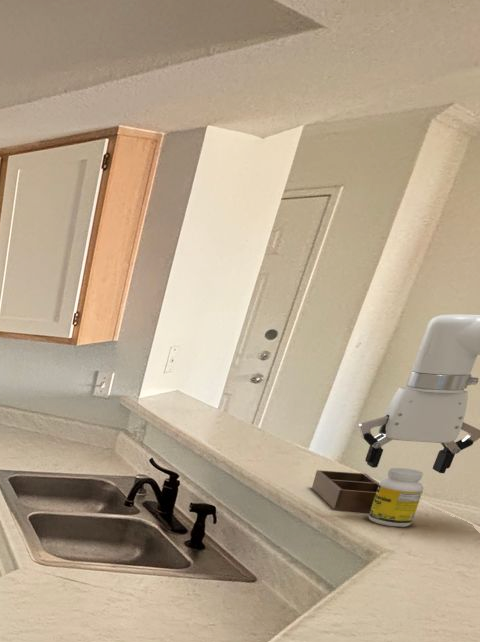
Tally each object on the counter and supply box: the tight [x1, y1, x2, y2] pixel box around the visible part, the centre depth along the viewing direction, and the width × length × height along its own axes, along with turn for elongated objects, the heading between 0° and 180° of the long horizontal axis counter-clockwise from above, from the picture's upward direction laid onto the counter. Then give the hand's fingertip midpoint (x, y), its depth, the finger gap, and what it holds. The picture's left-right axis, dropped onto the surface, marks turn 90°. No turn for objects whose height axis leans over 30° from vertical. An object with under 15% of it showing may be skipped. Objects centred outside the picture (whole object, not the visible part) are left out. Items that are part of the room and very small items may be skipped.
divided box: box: [311, 469, 380, 514], centre depth 133 cm, size 9×17×5 cm, turn 151°
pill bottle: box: [368, 467, 424, 528], centre depth 119 cm, size 6×6×11 cm
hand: (404, 468), depth 117 cm, fingers open, 9 cm apart
